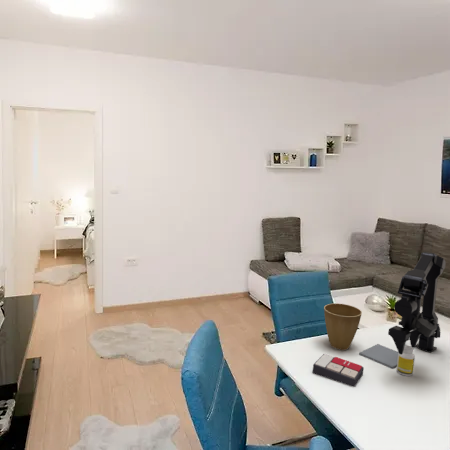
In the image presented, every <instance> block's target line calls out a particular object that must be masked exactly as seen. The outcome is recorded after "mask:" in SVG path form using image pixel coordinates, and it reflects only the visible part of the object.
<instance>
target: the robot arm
mask: <svg viewBox="0 0 450 450" xmlns="http://www.w3.org/2000/svg"><path fill="white" fill-rule="evenodd" d="M446 265H447V264H446V260H445V258H443V257H441V256H439V255H438V254H437V253H435V252H427V251H424V252H423V251H422V252H421V254H420V258H419V260H418V262H417V263H416V265H415V266H414V268H413V269H412V270H408V271H407V272H406V273H405V274H404V276H402V277H401V279H400V283H399V286H398V287H399V288H398V290H397V294H398V295H401V298H400V299H399V300H397V301H396V302H395V303H394V306H393V307H394V312H395V313H396V314H397V315H399V316H400V317H401V320H400V321H398V325H394V326H392V327H390V328H388V334H387V335H388V336H390V337H391V338H392V340H393V342H394V345H395V347H396V351H397V352H399V354H401V355H402V354H403V351H404V347H405V345H406V342H408V341H409V343H410V346H411V347H413V349H415V348H417V349H420V350H422V351H425V352H427V353H432V352H434V351H435V350H437V346H434V345H435V339H440V338H441V333H442V332H441V327H440V323H439V317H438V316H437V314H436V312H435V308H436V299H437V288H438V278H439V277H440V276H441V275H442V273H443V272H444V270H445V269H446ZM421 305H422V306H421ZM421 307H422V308H421ZM421 310H422V311H421Z"/></svg>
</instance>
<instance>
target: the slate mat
mask: <svg viewBox="0 0 450 450" xmlns="http://www.w3.org/2000/svg"><path fill="white" fill-rule="evenodd" d="M398 353H399V352H398V350H394V349H392V348H389V347H387V346H384V345H383V344H382V345H381V344H379V343H377V344H375V345H373V346H371V347H369V348H366V349H364V350H362V351H359V356H362V357H364V358H365V359H366V358H367V359H369V360H371V361H373V362H376V363H378V364H380V365H382V366H385V367H388V368H389V369H393V370H394V369H395V368H397V362H398Z"/></svg>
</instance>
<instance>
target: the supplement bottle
mask: <svg viewBox="0 0 450 450" xmlns="http://www.w3.org/2000/svg"><path fill="white" fill-rule="evenodd" d="M415 359H416V358H415V354H414V348H413V347H411V345H408V344H405V347H404V351H403V354H402V355H401V354H399V353H398V362H397V367H396V372H397V373H398V374H399V375H401V376H407V377H411V376H412V375H413V373H414V366H415V365H414V364H415Z"/></svg>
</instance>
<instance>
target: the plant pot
mask: <svg viewBox="0 0 450 450" xmlns="http://www.w3.org/2000/svg"><path fill="white" fill-rule="evenodd" d="M323 312H324V320H325V327H326V334H327V337H328V341H329V344H330V346H331V348H334V349H335V348H336V350H339V349H340V350H341V351H345V350H348V349H349V348H350V346H351V345H352V343H353V340H354V339H355V335H356V333H357V331H358V328H359V325H360V321H361V318H362V310H361V309H359V308H358V307H356V306H353V305H350V304H345V303H340V302H339V303H338V302H336V303H335V302H334V303H329V304H326V305H324V307H323ZM340 350H339V351H340Z"/></svg>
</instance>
